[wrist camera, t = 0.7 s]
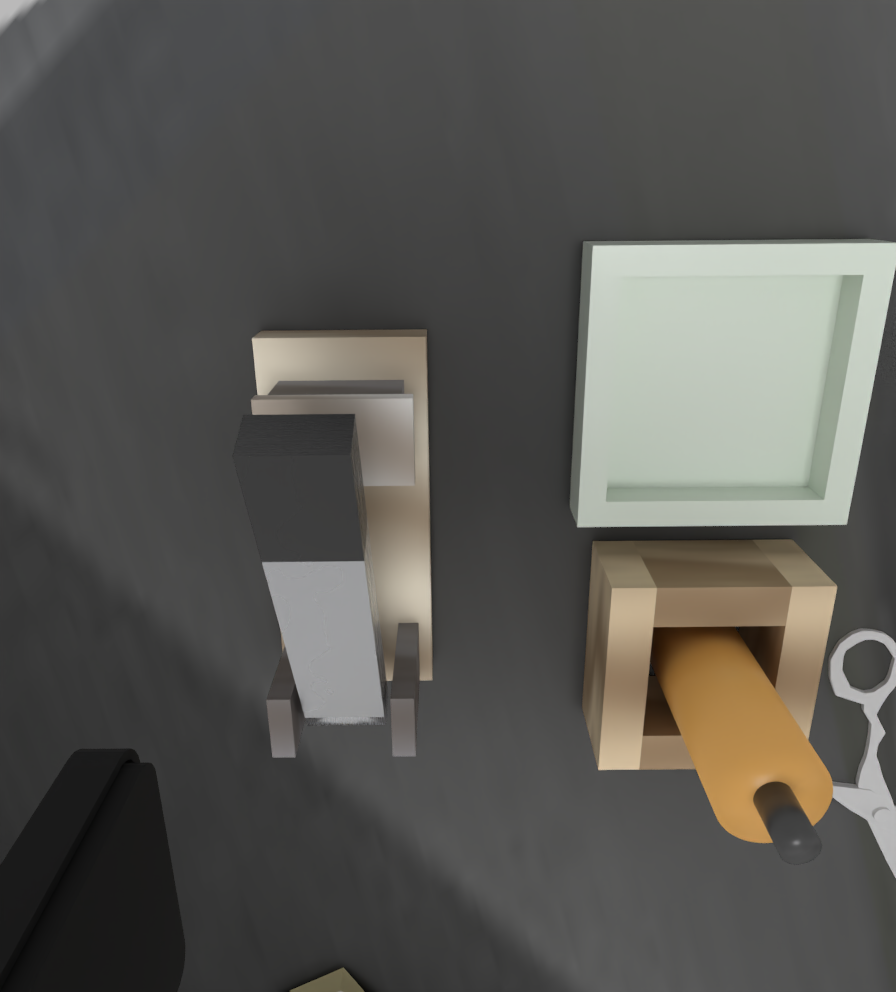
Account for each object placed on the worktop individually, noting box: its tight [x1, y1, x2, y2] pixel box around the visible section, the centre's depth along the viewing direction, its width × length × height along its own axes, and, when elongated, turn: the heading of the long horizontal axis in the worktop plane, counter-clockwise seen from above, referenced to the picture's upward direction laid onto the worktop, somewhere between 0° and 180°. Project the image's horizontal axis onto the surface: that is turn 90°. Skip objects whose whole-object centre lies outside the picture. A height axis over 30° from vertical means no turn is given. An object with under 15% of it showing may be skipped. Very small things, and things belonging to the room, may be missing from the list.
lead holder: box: [582, 539, 837, 770], centre depth 32 cm, size 8×8×4 cm
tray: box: [570, 239, 896, 527], centre depth 29 cm, size 10×10×2 cm
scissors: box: [828, 628, 896, 878], centre depth 37 cm, size 11×1×20 cm
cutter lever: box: [233, 414, 388, 725], centre depth 25 cm, size 14×3×2 cm, turn 0°
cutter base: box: [251, 329, 433, 757], centre depth 29 cm, size 14×6×6 cm, turn 0°
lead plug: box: [650, 626, 833, 865], centre depth 28 cm, size 4×4×12 cm
